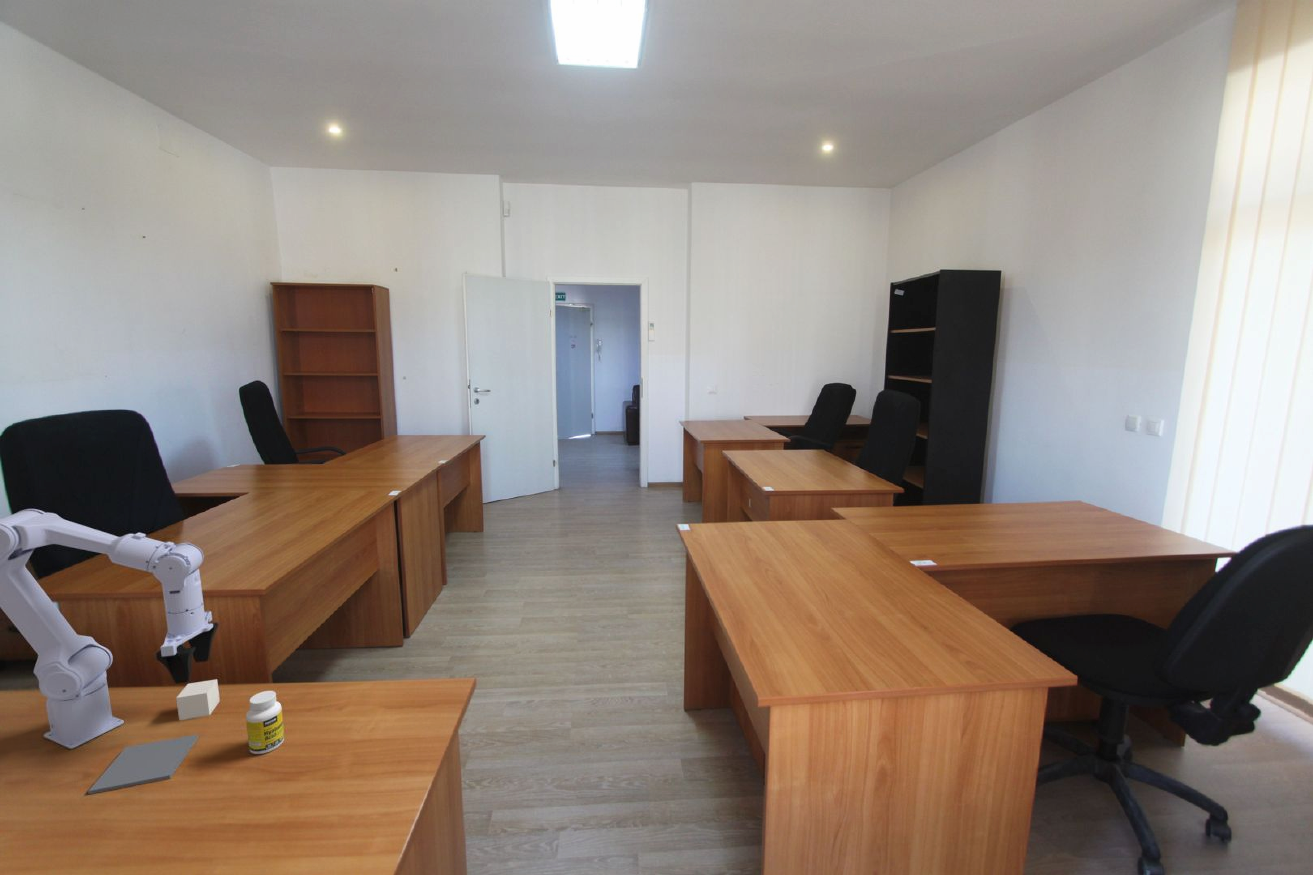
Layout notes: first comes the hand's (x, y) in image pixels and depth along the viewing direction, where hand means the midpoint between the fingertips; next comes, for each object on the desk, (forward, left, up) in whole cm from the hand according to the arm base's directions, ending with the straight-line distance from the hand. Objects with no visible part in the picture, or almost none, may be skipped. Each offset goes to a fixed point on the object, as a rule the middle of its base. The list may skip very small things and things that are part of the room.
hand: (192, 671), depth 111 cm
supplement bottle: (+22, -1, -10) cm, 24 cm away
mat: (+7, -12, -9) cm, 17 cm away
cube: (-1, +1, -10) cm, 10 cm away
